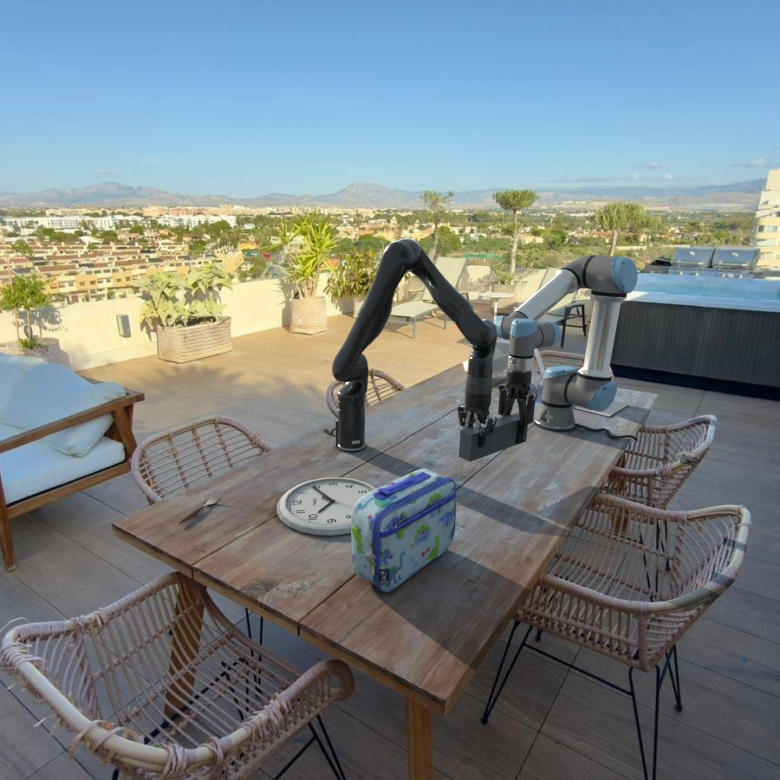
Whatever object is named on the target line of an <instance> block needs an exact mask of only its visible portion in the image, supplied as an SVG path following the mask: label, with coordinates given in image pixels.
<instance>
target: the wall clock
mask: <svg viewBox="0 0 780 780" xmlns="http://www.w3.org/2000/svg"><path fill="white" fill-rule="evenodd" d="M376 489H378V487H376V486H374V485H372V484H371V483H369V482H365V481H362V480H359V479H355V478H349V477H338V476H337V477H335V476H333V477H332V476H331V477H322V478H317V479H312V480H307V481H305V482H302V483H299V484H297V485H295V486H293V487H292V488H290V489H288V490H287V491H286V492H285V493H284V494H283V495H281V496H280V498H279V499H278V502H277V503H276V515H277V517H278V518H279V520H280V521H281V522H282V523H283V524H285V525H286V526H287V527H288V528H290V529H293V530H295V531H297V532H299V533H303V534H308V535H312V536H327V537H328V536H329V537H331V536H332V537H333V536H342V535H350V534H351V514H352V510H353V507H354V505H355V504H356V502H357V501H358V500H359V499H360V498H361V497H362V496H364V495H365V494H367V493H370V492H372V491H374V490H376Z"/></svg>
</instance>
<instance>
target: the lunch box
mask: <svg viewBox="0 0 780 780" xmlns="http://www.w3.org/2000/svg"><path fill="white" fill-rule="evenodd" d="M456 517H457V485H456V481H455V479H453V478H452V477H449V476H447V477H445V476H442V475H440V474H439V473H437V472H434V471H433V470H431V469H428V468H420V469H417V470H414V471H413V472H410V473H408V474H405V475H403V476H401V477H399V478H397V479H394V480H393V481H390V482H388V483H387V484H383V485H382V486H380V487H377V489H376V490H374V491H372V492H370V493H367V494H365V495H364V496H362V497H361V498H360V499H359V500H358V501H357V502H356V504H355V505H354V507H353V510H352V514H351V533H350V538H351V539H350V540H351V564H352V570H353V572H354V574H355V575H356V576H358V577H359V578H362V579H364V580H366V581H368V582H369V583H370V584H372V585H374V586H375V587H376V589H377V590H379V591H381V592H383V593H391V592H392V591H394V590H395V589H397V588H398V587H400V586H401V584H403V583H404V582H406V581H407V580H408V579H410V578H411V577H412V576H414V575H415V574H417V573H418V572H419V571H421V570H423V568H425V566H426V565H428V564H429V563H431V562H432V561H434V560H435V559H437V558H440V556H442V555H443V554H445V553H446V552H447V550H448V549H449V548H450V546H451V545H452V542H453V540H454V537H455V532H456V522H457V521H456V519H457V518H456Z"/></svg>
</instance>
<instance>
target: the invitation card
mask: <svg viewBox="0 0 780 780" xmlns="http://www.w3.org/2000/svg"><path fill="white" fill-rule="evenodd" d="M628 406H629V404H627V403H623V402H618V401H614V400H613V402H612V403H611V405H610V406H609V407H608V408H607V409H606V410H604V411H601V412H598V411H594V410H589V409H587V408H583V407H580V406H577V405H575V406H574V407H573V409H575V410H581V411H584V412H587V413H593V414H596V415H600V416H604V417H608V418H609V417H611V416H613V415H614V414H616V413H617V412H619V411H621V410H623V409H624V408H626V407H628Z"/></svg>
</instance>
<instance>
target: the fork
mask: <svg viewBox="0 0 780 780" xmlns="http://www.w3.org/2000/svg"><path fill="white" fill-rule="evenodd" d="M222 493H223V491H221V490H219V489H217V490H216V489H215V490H214V492H213V493H212V495H211V496H210V498H209V499H208V500H207V501H206V502H205V504H203V505H202V506H200V507H198V508H196V509H194V510H192V512H191V513H189V514H188V515H187V516H186V517H185V518H183V519H182V520H181V521H180V522H179V523H178V525H180V524H182V523H184V522H186V521H187V520H189V519H191V518H192V517H194V516H195V515H197V514H198V513H199V512H201V511H202V510H203V509H204V508H205V507H206V506H210V505H215V504H216V503H217V502H218V500H219V498H220V497H221V495H222Z"/></svg>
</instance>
